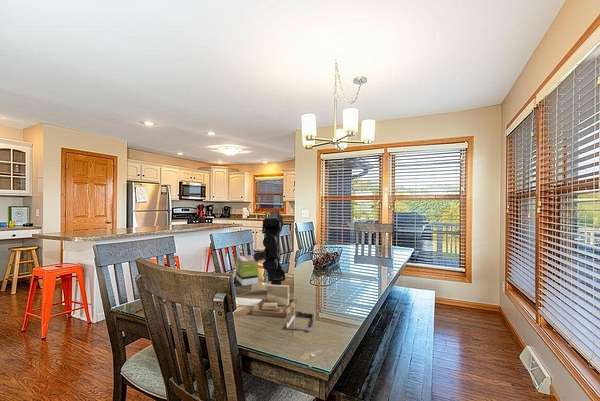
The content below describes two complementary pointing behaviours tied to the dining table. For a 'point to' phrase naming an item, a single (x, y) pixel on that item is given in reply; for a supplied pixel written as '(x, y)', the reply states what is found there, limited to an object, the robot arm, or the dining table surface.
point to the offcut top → (269, 306)
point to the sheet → (278, 294)
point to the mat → (248, 301)
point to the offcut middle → (272, 309)
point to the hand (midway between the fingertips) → (272, 278)
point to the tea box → (247, 270)
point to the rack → (270, 313)
